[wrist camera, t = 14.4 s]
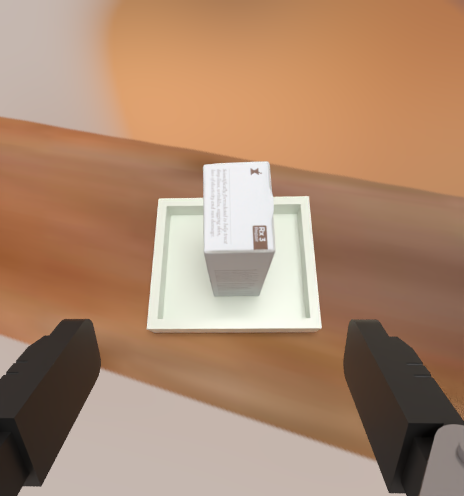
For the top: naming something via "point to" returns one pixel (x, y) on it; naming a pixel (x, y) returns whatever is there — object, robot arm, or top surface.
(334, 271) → the top surface
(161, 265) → the tray
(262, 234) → the skincare box
